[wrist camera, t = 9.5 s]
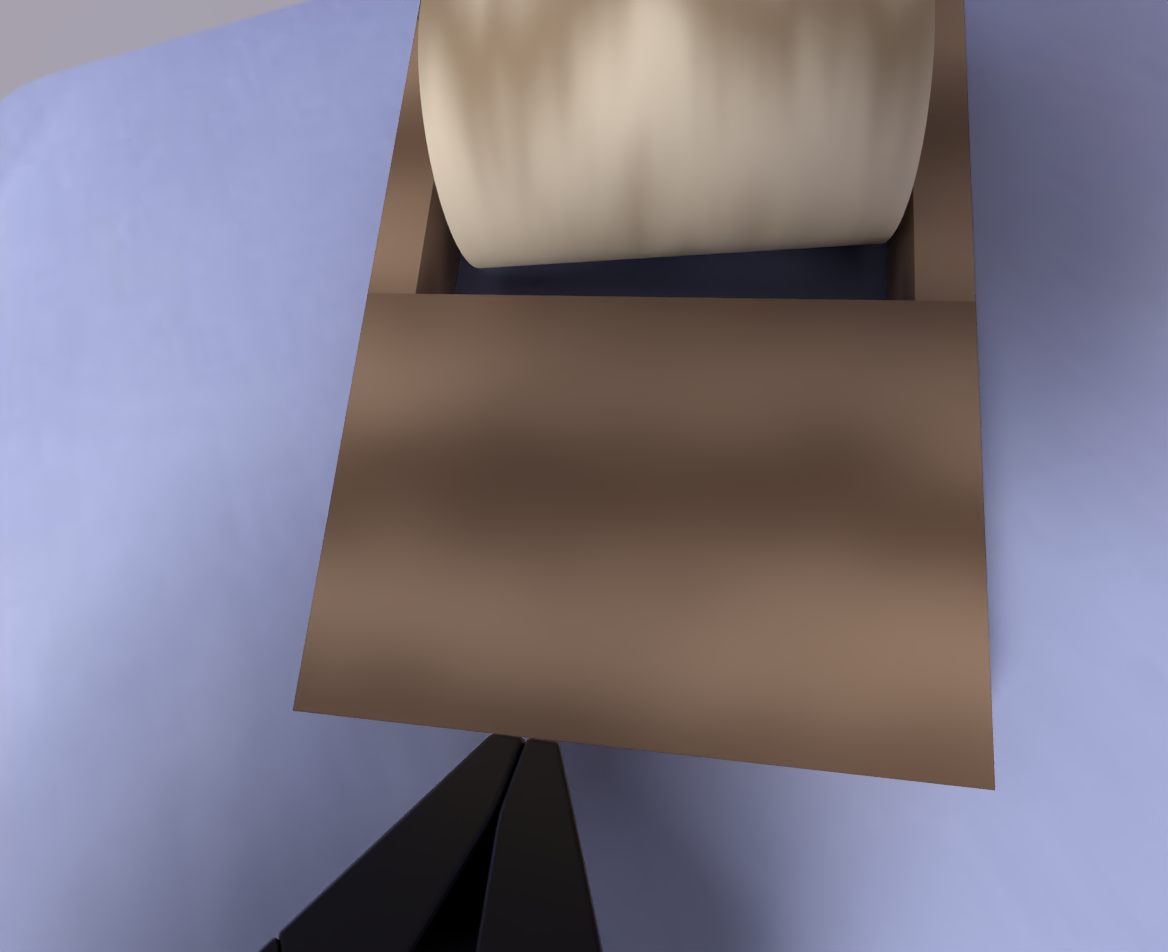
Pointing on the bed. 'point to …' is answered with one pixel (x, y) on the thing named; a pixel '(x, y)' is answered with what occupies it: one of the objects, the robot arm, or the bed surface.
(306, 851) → the bed surface
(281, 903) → the bed surface
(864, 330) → the paper towel roll tray
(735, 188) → the roller
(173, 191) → the bed surface
